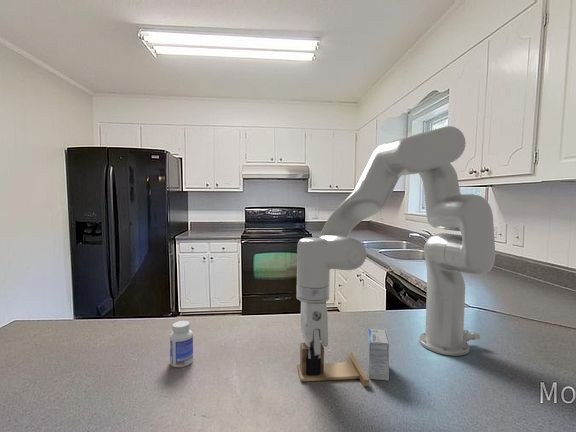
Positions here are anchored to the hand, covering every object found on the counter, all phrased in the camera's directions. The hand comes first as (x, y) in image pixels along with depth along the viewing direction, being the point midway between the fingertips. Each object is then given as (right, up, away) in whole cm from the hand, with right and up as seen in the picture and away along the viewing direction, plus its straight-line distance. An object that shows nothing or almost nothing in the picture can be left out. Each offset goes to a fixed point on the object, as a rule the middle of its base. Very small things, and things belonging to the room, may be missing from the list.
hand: (311, 369), depth 71 cm
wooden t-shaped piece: (+4, -1, 0) cm, 4 cm away
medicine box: (+16, -2, +2) cm, 16 cm away
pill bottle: (-32, -1, +5) cm, 32 cm away
